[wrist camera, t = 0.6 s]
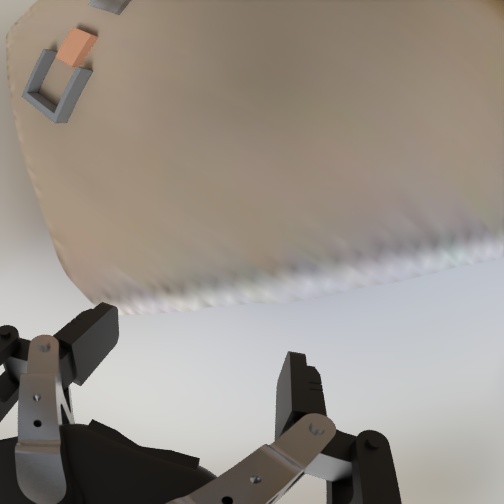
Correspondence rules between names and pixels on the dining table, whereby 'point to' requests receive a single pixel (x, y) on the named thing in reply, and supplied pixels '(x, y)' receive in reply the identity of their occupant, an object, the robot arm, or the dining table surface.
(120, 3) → the brown and grey scraper
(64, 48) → the tile
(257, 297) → the dining table surface
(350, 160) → the dining table surface
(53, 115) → the bay
